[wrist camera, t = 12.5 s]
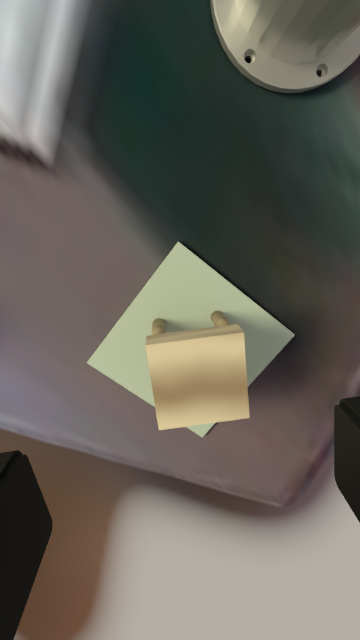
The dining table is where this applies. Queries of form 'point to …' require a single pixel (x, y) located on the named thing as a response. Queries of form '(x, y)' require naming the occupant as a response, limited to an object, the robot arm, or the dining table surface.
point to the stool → (198, 374)
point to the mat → (185, 322)
